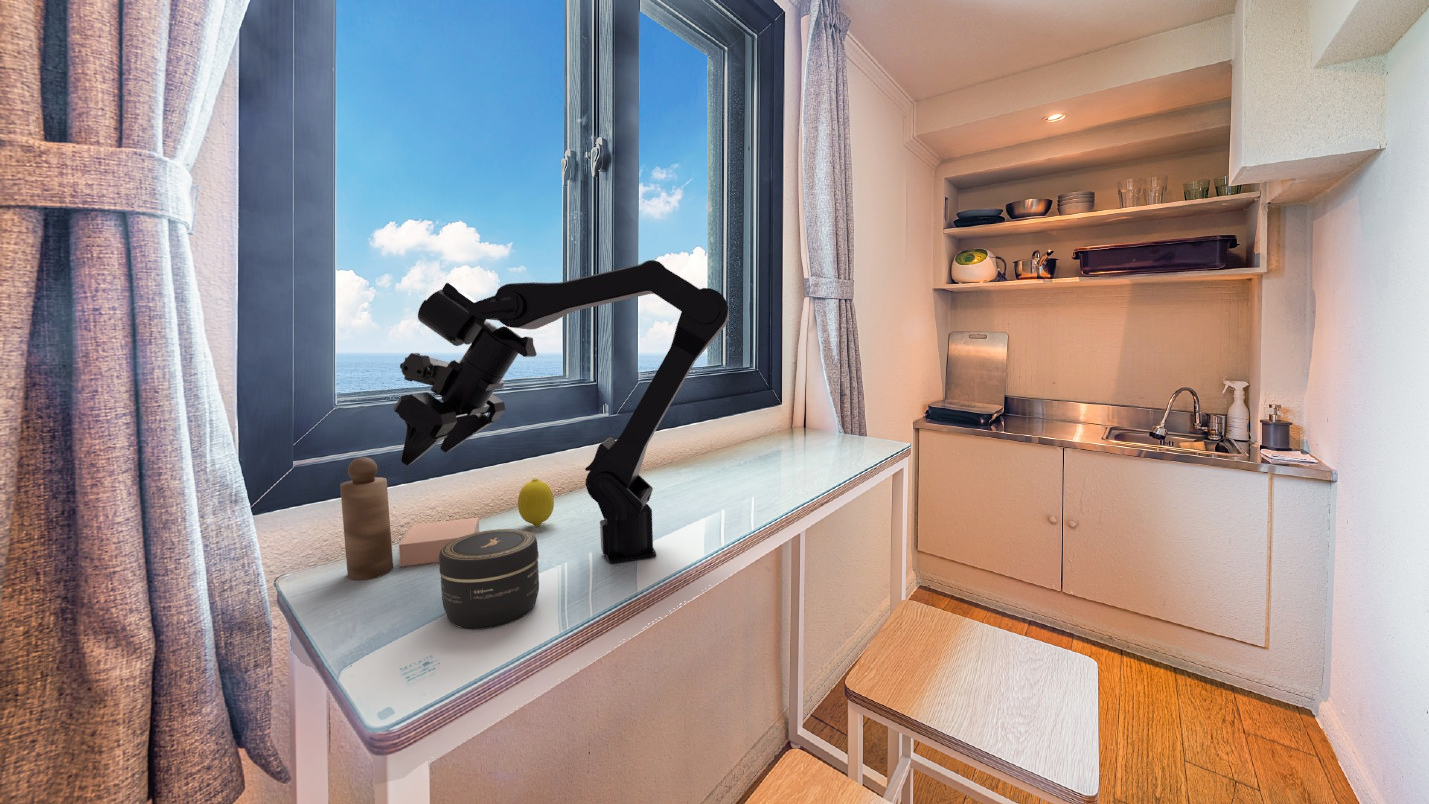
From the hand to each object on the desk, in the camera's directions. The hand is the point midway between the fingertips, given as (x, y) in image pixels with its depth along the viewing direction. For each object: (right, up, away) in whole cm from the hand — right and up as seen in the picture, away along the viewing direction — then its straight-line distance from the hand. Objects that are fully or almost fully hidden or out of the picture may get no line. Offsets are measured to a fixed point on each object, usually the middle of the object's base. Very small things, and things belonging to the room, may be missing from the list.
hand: (425, 456), depth 74 cm
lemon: (+12, -13, +12) cm, 21 cm away
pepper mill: (-4, -15, -5) cm, 16 cm away
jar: (+16, -15, -16) cm, 28 cm away
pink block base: (+1, -14, +2) cm, 14 cm away
